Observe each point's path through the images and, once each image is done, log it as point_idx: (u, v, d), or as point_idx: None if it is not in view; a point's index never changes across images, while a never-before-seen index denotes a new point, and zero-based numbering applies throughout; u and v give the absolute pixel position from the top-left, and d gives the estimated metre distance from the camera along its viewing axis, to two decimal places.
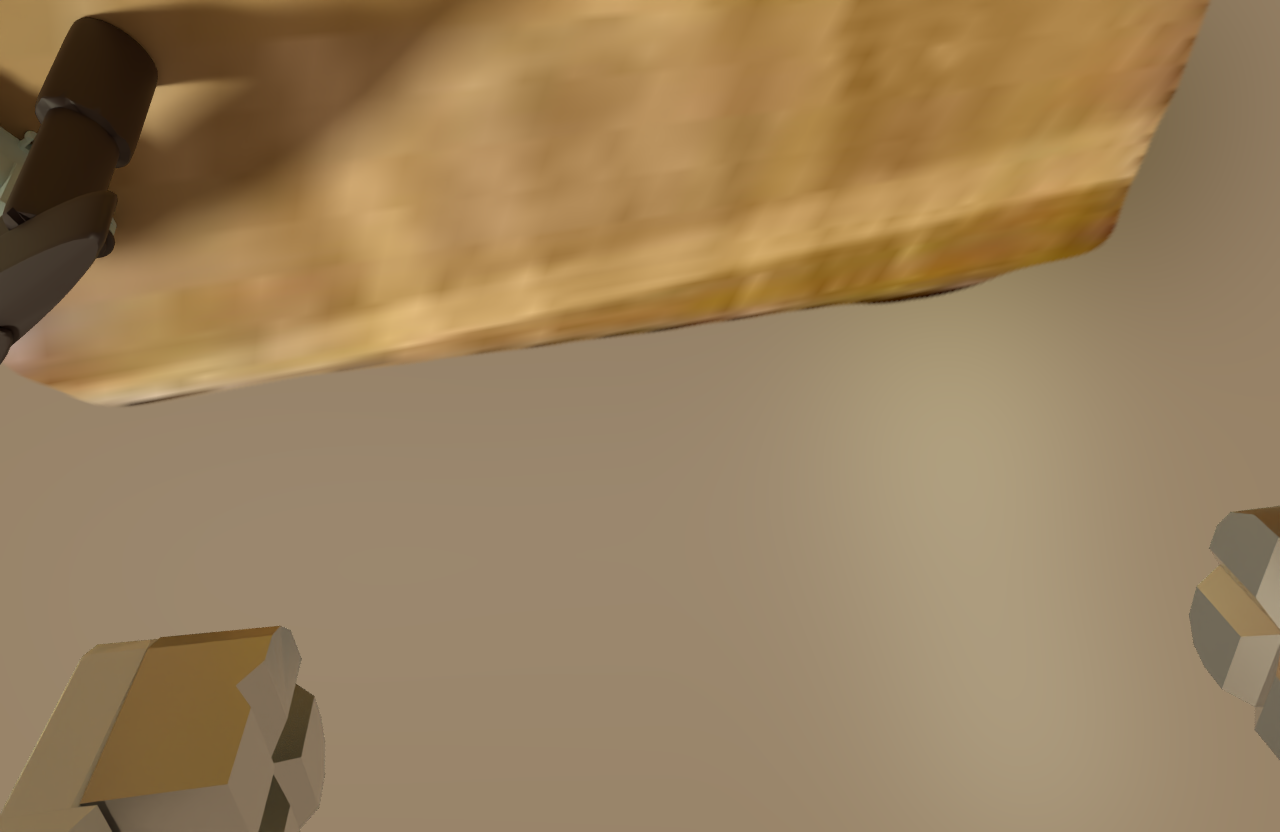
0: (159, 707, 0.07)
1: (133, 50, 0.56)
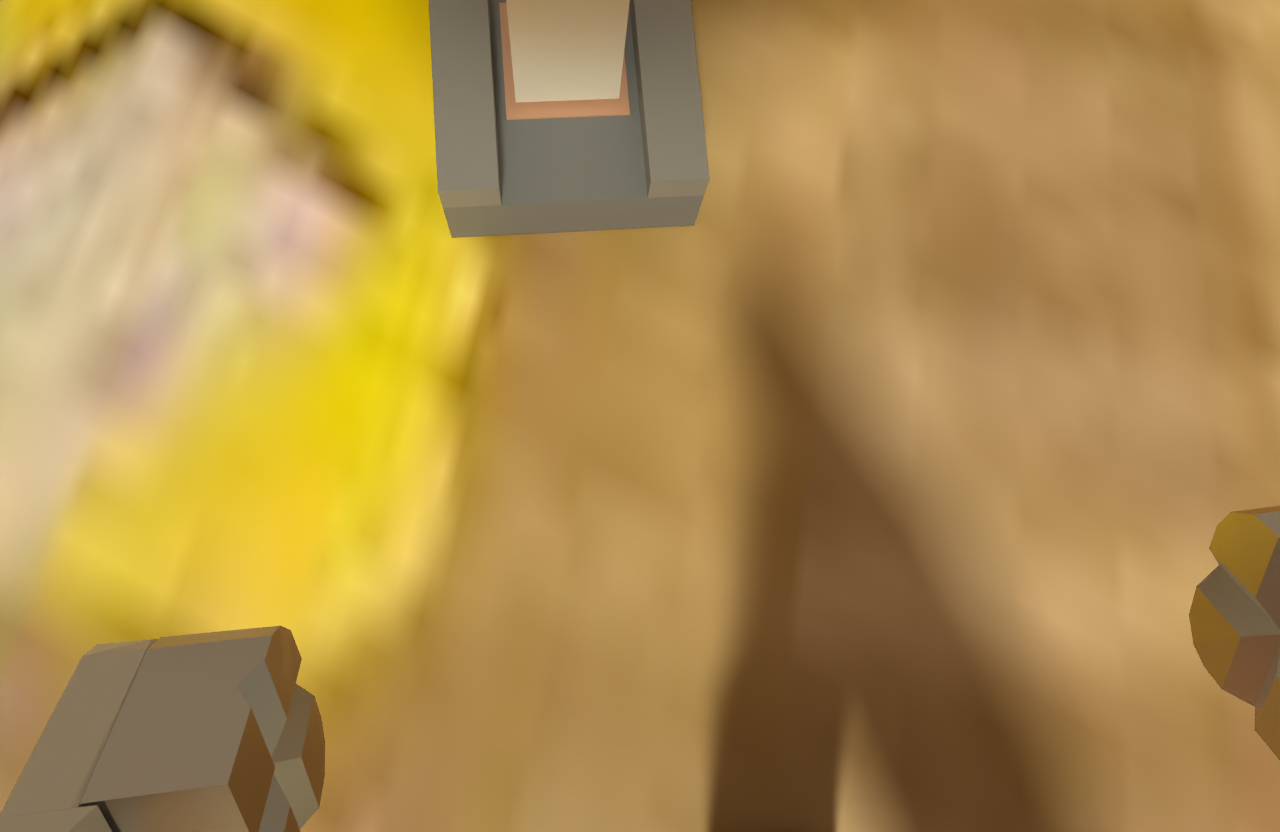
0: (159, 707, 0.07)
1: None
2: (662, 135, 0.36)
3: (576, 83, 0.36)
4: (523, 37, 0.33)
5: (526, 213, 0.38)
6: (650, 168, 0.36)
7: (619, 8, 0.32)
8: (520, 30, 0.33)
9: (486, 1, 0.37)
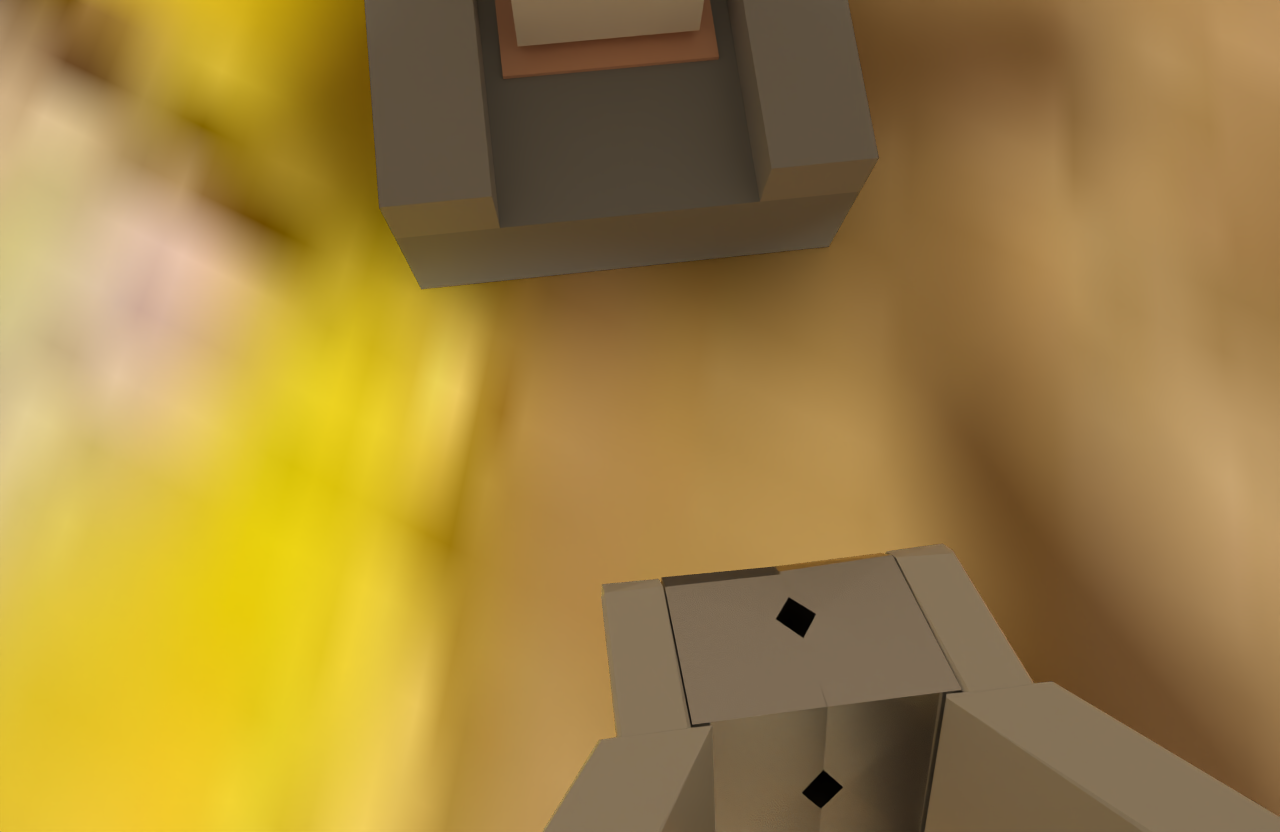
0: (712, 639, 0.07)
1: None
2: (786, 85, 0.20)
3: (625, 2, 0.20)
4: None
5: (545, 241, 0.22)
6: (769, 145, 0.20)
7: None
8: None
9: None
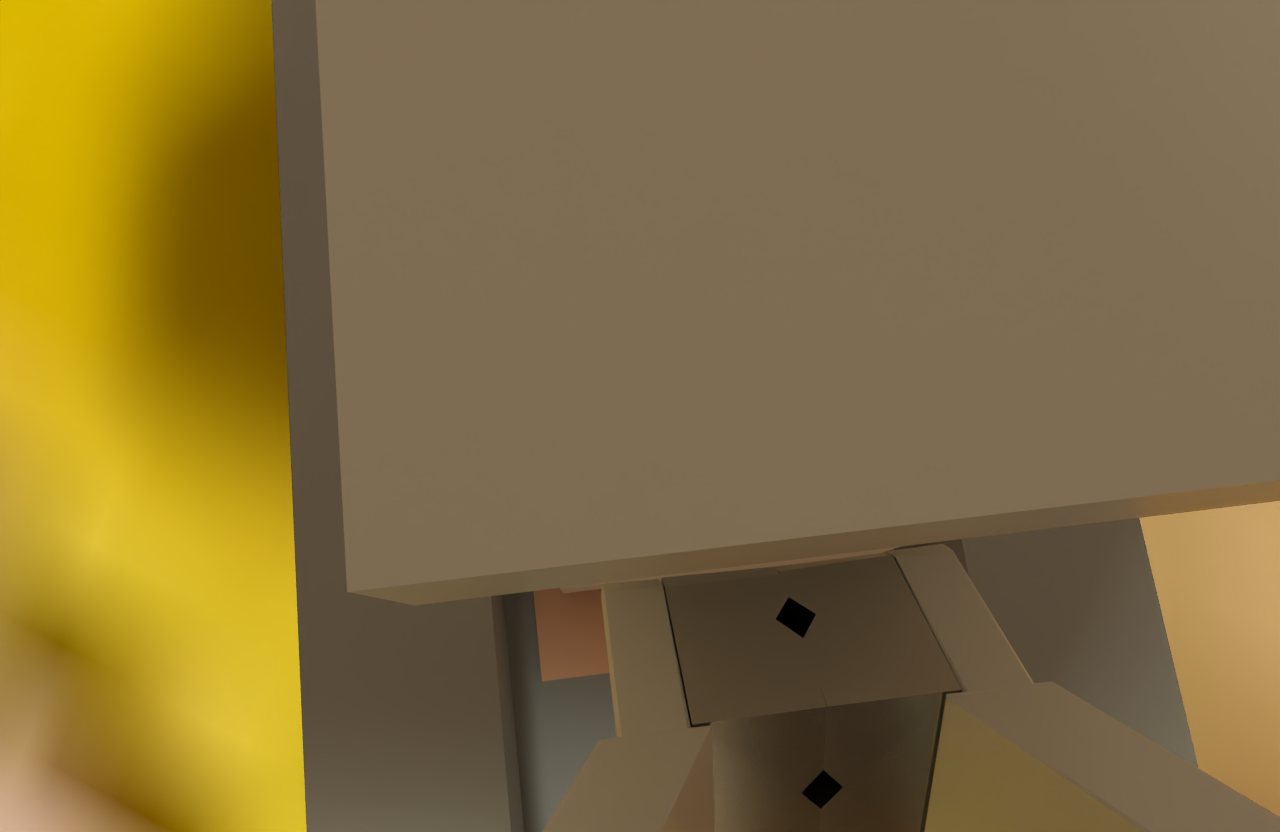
0: (712, 638, 0.07)
1: None
2: None
3: (759, 564, 0.11)
4: None
5: None
6: None
7: None
8: None
9: None
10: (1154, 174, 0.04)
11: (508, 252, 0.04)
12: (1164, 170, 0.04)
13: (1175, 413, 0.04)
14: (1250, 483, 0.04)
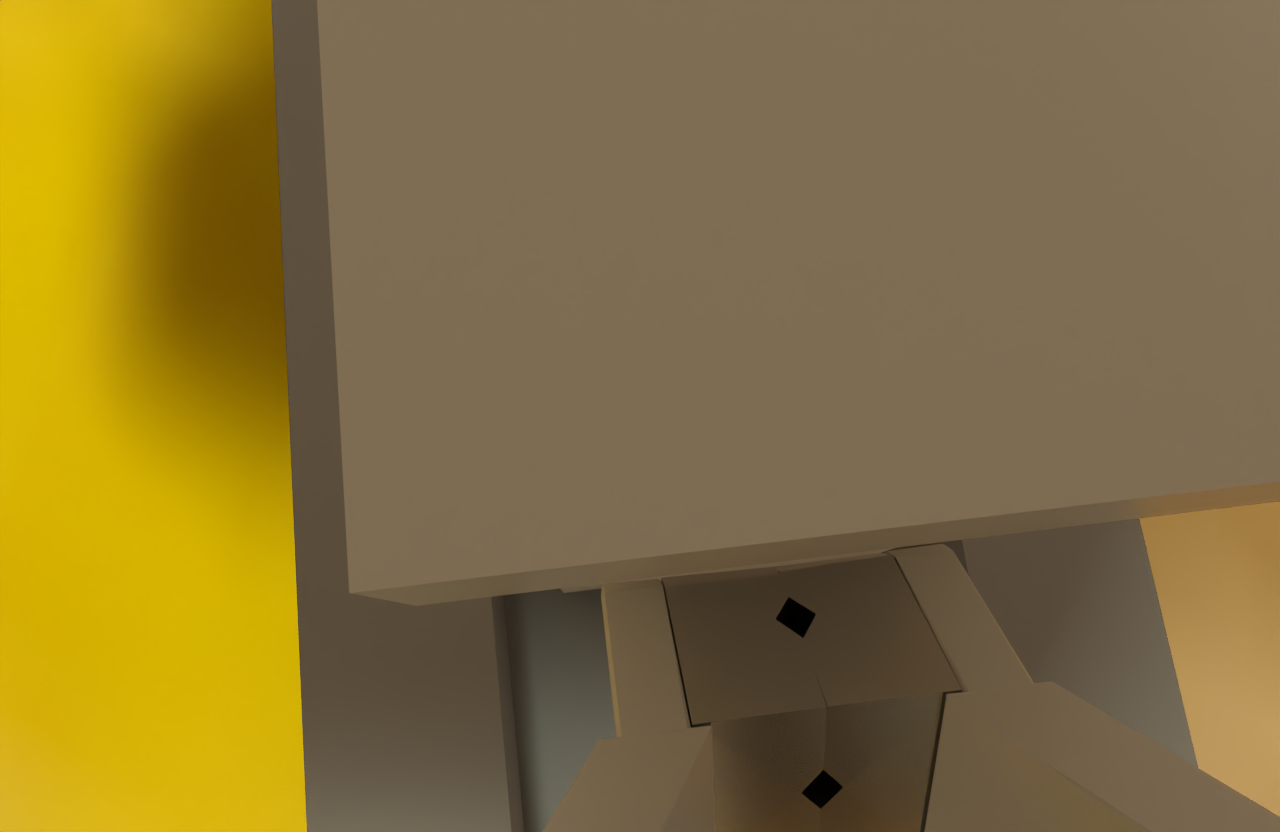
0: (712, 639, 0.07)
1: None
2: None
3: None
4: None
5: None
6: None
7: None
8: None
9: None
10: (1156, 174, 0.04)
11: (510, 252, 0.04)
12: (1166, 170, 0.04)
13: (1177, 414, 0.04)
14: (1252, 484, 0.04)
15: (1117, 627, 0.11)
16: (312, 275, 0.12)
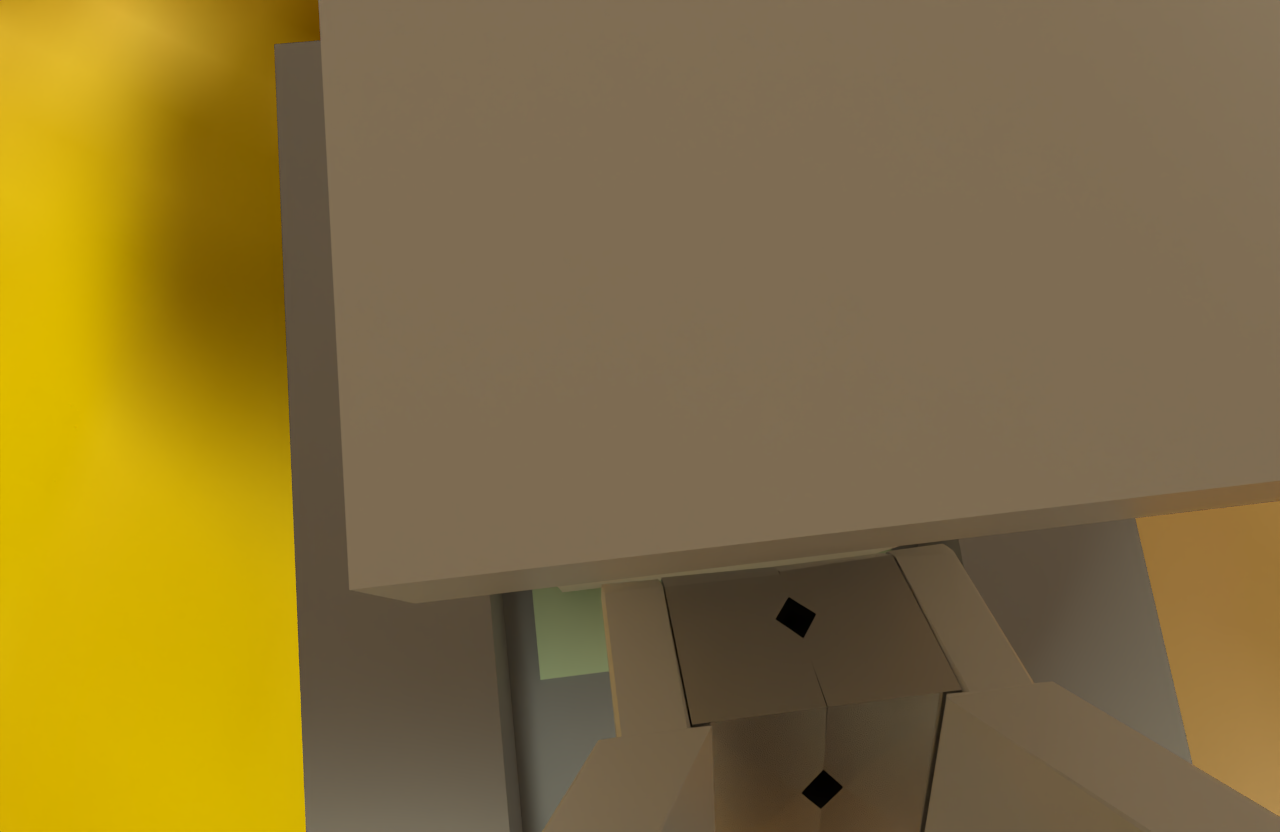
0: (712, 639, 0.07)
1: None
2: None
3: (757, 563, 0.11)
4: None
5: None
6: None
7: None
8: None
9: None
10: (1146, 179, 0.04)
11: (508, 254, 0.04)
12: (1156, 175, 0.04)
13: (1165, 415, 0.04)
14: (1239, 484, 0.04)
15: None
16: (324, 527, 0.11)
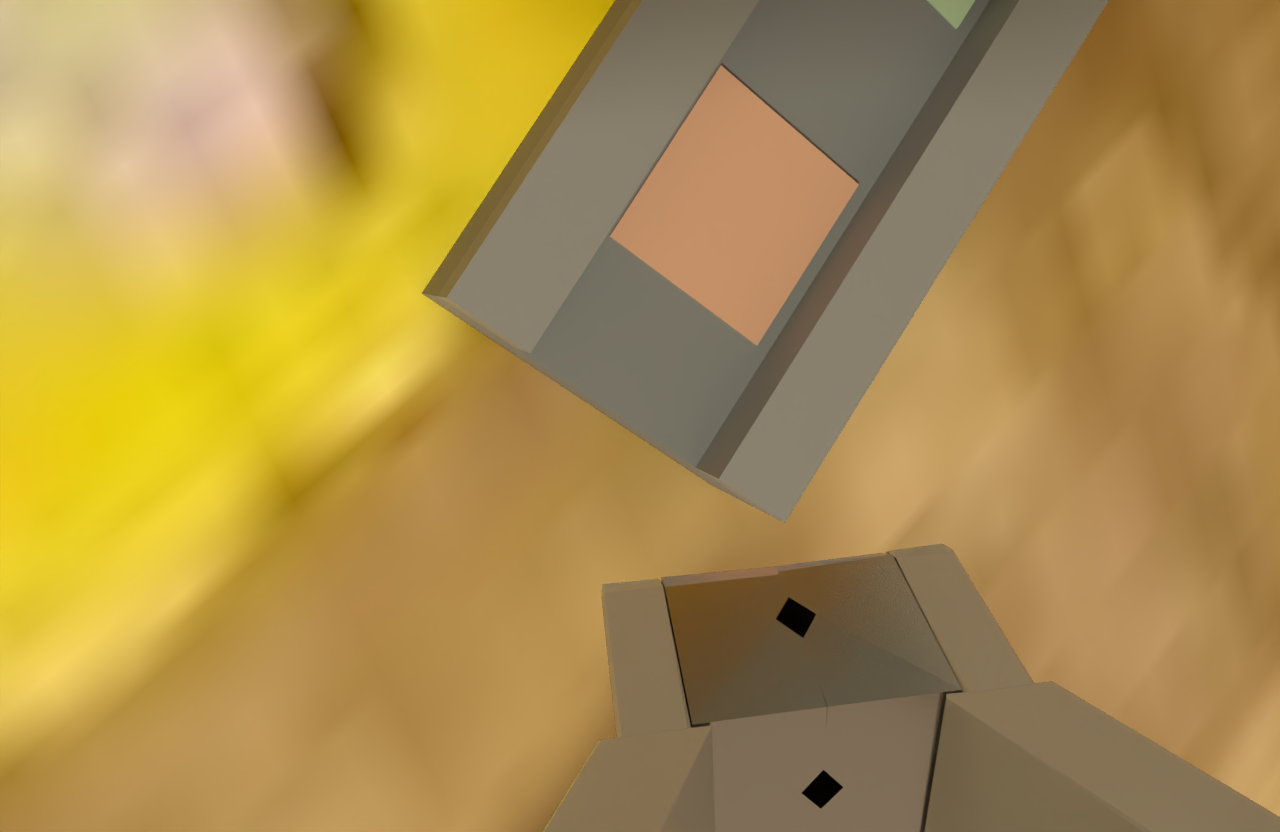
0: (713, 639, 0.07)
1: None
2: (776, 428, 0.24)
3: None
4: None
5: (538, 365, 0.24)
6: (730, 462, 0.24)
7: None
8: None
9: (710, 71, 0.22)
10: None
11: None
12: None
13: None
14: None
15: (978, 173, 0.25)
16: None
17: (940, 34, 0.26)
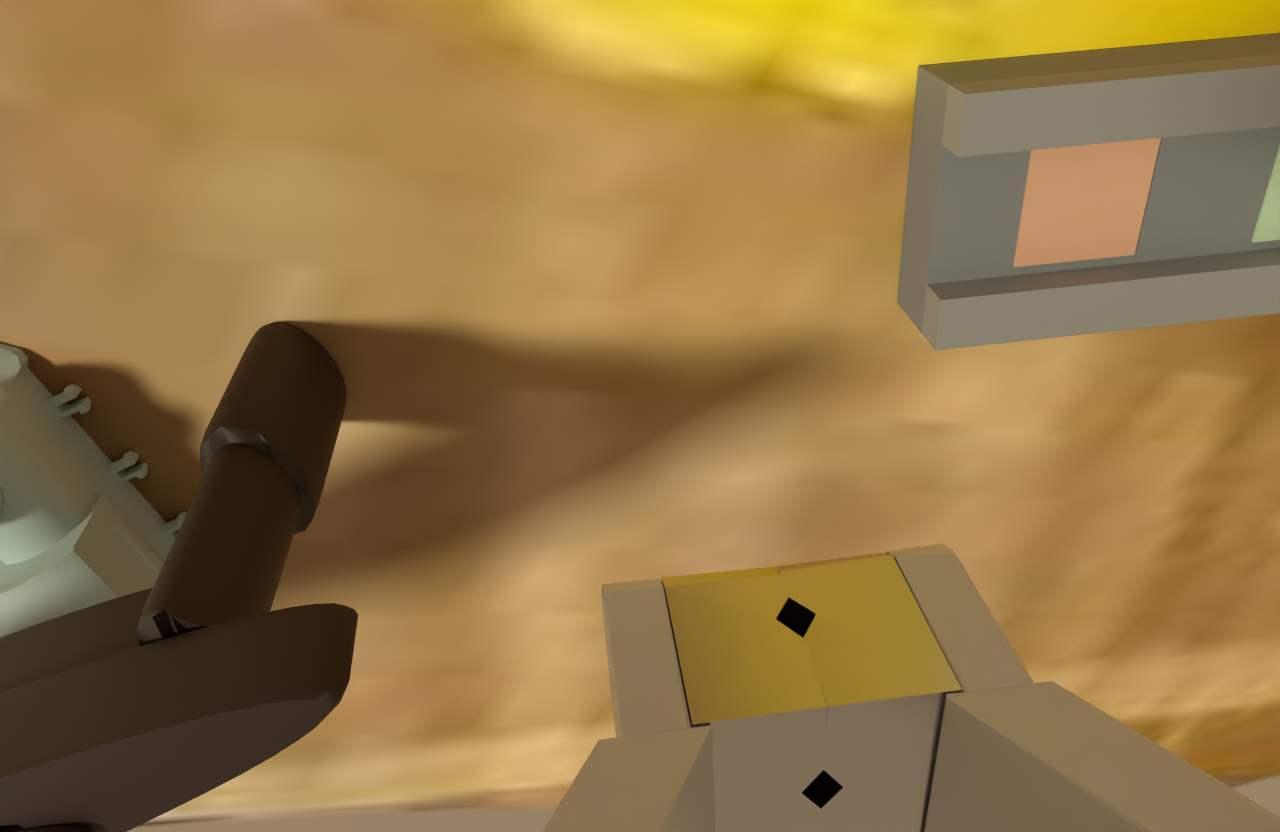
0: (713, 639, 0.07)
1: (332, 373, 0.40)
2: (984, 309, 0.38)
3: None
4: None
5: (930, 161, 0.37)
6: (953, 299, 0.38)
7: None
8: None
9: (1162, 136, 0.35)
10: None
11: None
12: None
13: None
14: None
15: (1182, 311, 0.39)
16: None
17: (1243, 235, 0.39)
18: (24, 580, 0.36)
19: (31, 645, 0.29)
